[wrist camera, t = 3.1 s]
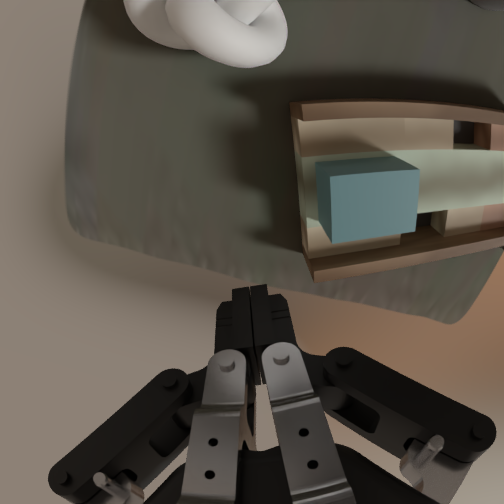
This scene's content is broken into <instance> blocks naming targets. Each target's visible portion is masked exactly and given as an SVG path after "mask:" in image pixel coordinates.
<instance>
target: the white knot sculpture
mask: <svg viewBox="0 0 504 504" xmlns="http://www.w3.org/2000/svg"><path fill="white" fill-rule="evenodd" d="M123 1H124V5H125V9H126V12H127V14H128V16H129V18H130V20H131V22H132V23H133V24H134V25H135V27H136V28H137V29H138V30H139V31H140V32H141V33H143V34H144V35H145V36H146V37H148V38H149V39H151V40H153V41H155V42H156V43H159V44H162V45H164V46H167V47H171V48H175V49H183V50H195V51H197V52H198V53H200V54H202V55H203V56H205V57H208V58H210V59H212V60H214V61H217V62H220V63H223V64H226V65H229V66H234V67H239V68H253V67H257V66H261V65H265V64H268V63H270V62H272V61H273V60H275V59H276V58H277V57H278V56H279V55H280V54H281V53H282V51H283V50H284V48H285V44H286V40H287V23H286V19H285V16H284V14H283V11H282V9H281V7H280V5H279V3H278V1H277V0H215V1H214V0H123Z"/></svg>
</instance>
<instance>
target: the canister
mask: <svg viewBox="0 0 504 504" xmlns="http://www.w3.org/2000/svg"><path fill="white" fill-rule="evenodd" d="M470 1H471V2H472V3H474V4H475V5H477V6H479V7H481V8H483V9H486V10H492V11H501V10H504V0H470Z"/></svg>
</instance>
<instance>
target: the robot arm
mask: <svg viewBox="0 0 504 504" xmlns="http://www.w3.org/2000/svg"><path fill="white" fill-rule="evenodd" d="M250 292H251V295H250ZM260 373H261V378H262V383H263V384H267V389H268V395H269V400H270V405H271V409H272V414H273V419H274V424H275V428H276V433H277V438H278V443H279V446H276V447H274V448H271V449H268V450H265V451H257V449H256V388H255V385H261V378H260ZM324 411H325V412H326V413H327V414H328V415H330V416H331V417H333V418H335V419H336V420H338V421H339V422H340V423H342V424H343V425H345V426H347V427H348V428H350V429H351V430H353V431H354V432H356V433H358V434H359V435H361V436H362V437H364V438H366V439H367V440H369V441H371V442H372V443H374V444H376V445H377V446H379V447H381V448H382V449H384V450H386V451H387V452H389V453H391V454H392V455H394V456H396V457H398V458H400V459H401V461H400V466H399V467H400V471H401V473H402V475H403V476H404V477H405V478H406V479H407V480H409V482H410V483H411V484H412V486H413V487H411V486H409V485H408V484H406V483H404V482H403V481H401V480H400V479H398V478H396V477H395V476H393V475H392V474H390V473H388V472H387V471H385V470H384V469H382V468H381V467H379V466H378V465H376V464H374V463H373V462H372V461H370V460H369V459H367V458H366V457H364V456H362V455H361V454H360V453H358V452H357V451H355V450H353V449H351V448H349V447H347V446H344V445H340V444H336V443H334V441H333V437H332V434H331V432H330V429H329V425H328V422H327V419H326V417H325V413H324ZM495 438H496V427H495V424H494V422H493V421H492V420H491V419H490V418H489V417H488V416H486V415H484V414H481V413H479V412H477V411H475V410H473V409H471V408H468V407H467V406H465V405H463V404H460V403H458V402H456V401H454V400H452V399H450V398H448V397H446V396H444V395H442V394H440V393H438V392H436V391H434V390H432V389H429V388H428V387H426V386H424V385H422V384H420V383H418V382H416V381H414V380H412V379H410V378H408V377H406V376H404V375H402V374H400V373H398V372H397V371H395V370H393V369H391V368H389V367H387V366H385V365H383V364H381V363H379V362H377V361H376V360H373V359H372V358H370V357H368V356H366V355H364V354H362V353H360V352H359V351H357V350H355V349H353V348H349V347H338V348H335V349H333V350H331V351H330V352H329V353H327V354H326V356H319V355H311V354H308V353H306V352H304V351H302V350H301V349H300V348H299V347H298V345H297V343H296V338H295V334H294V330H293V325H292V321H291V317H290V312H289V307H288V303H287V300H286V299H285V298H284V297H283V296H282V295H281V294H275V295H268V291H267V284H263V285H257V286H251V287H250V290H249V287H243V288H237V289H232V301H227V302H222V303H221V304H220V306H219V307H218V309H217V314H216V330H215V350H214V355H213V356H212V357H211V358H210V360H209V362H208V365H207V366H206V367H205V368H203V369H201V370H199V371H196V372H193V373H191V374H188V375H187V374H186V373H185V372H184V371H182V370H180V369H167V370H164V371H162V372H161V373H160V374H158V375H157V376H156V377H155V378H153V379H152V380H151V381H150V382H149V383H148V384H147V385H146V386H145V387H143V388H142V389H141V390H140V391H139V392H138V393H137V394H136V395H135V396H133V397H132V398H131V399H130V400H129V401H128V402H127V403H126V404H124V405H123V406H122V407H121V408H120V409H119V410H118V411H117V412H115V413H114V414H113V415H112V416H111V417H110V418H109V419H107V421H105V422H104V423H103V424H102V425H101V426H99V427H98V428H97V429H96V430H95V431H94V432H93V433H91V434H90V435H89V436H88V437H87V438H86V439H84V440H83V441H82V442H81V443H80V444H79V445H78V446H76V447H75V448H74V449H73V450H72V451H71V452H69V453H68V454H67V455H66V456H65V457H63V458H62V459H61V460H60V461H59V462H57V463H56V464H55V465H54V466H53V467H52V468H51V470H50V472H49V476H48V482H49V485H50V488H51V489H52V490H53V491H54V492H55V493H56V494H58V495H60V496H61V497H63V498H65V499H67V500H68V501H69V502H71V503H72V504H449V503H450V501H451V500H452V498H453V497H454V495H455V493H456V491H457V490H458V488H459V487H460V485H461V483H462V482H463V480H464V478H465V476H466V474H467V473H468V471H469V469H470V467H471V465H472V463H473V462H474V461H475V460H476V459H478V458H479V457H480V456H481V455H482V454H483V453H484V452H485V451H486V450H487V449H488V448H489V447H490V446H491V445H492V444H493V442H494V440H495ZM188 445H189V446H188ZM187 446H188V452H187V458H186V463H184V464H182V465H181V466H179V467H178V468H177V469H176V470H175V471H174V472H173V473H172V474H171V475H170V476H169V477H168V478H167V479H166V480H165V481H164V482H163V483H162V484H161V485H160V487H158V488H157V490H156V491H155V492H154V493H153V494H152V495H151V496H150V497H149V498H148V499H147V500H146V501H145V502H144V492H143V489H144V488H145V487H147V486H148V485H149V484H150V483H151V482H152V481H153V480H154V479H155V478H156V477H157V476H158V475H159V474H160V473H161V472H162V471H163V470H164V469H165V468H166V467H167V466H168V465H169V464H170V463H171V462H172V461H173V460H174V459H175V458H176V457H177V456H178V455H179V454H180V453H181V452H182V451H183V450H184V449H185V448H186V447H187Z"/></svg>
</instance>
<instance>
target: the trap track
mask: <svg viewBox="0 0 504 504" xmlns="http://www.w3.org/2000/svg"><path fill="white" fill-rule="evenodd" d="M289 107H290V115H291V124H292V132H293V142H294V151H295V161H296V171H297V182H298V194H299V206H300V219H301V233H302V248H303V255H304V258H305V260H306V263H307V266H308V268H309V271H310V273H311V276H312V279H313V281H314V283H318V282H324V281H330V280H336V279H342V278H348V277H353V276H359V275H364V274H370V273H375V272H381V271H386V270H392V269H397V268H402V267H407V266H412V265H417V264H422V263H427V262H432V261H437V260H442V259H446V258H451V257H456V256H460V255H465V254H469V253H474V252H478V251H483V250H487V249H491V248H496V247H500V246H504V111H503V110H498V109H492V108H486V107H480V106H473V105H465V104H457V103H448V102H438V101H425V100H409V99H375V98H361V99H326V100H309V101H296V102H289ZM390 156H395V157H397V158H399V159H401V160H403V161H405V162H407V163H409V164H411V165H413V166H415V167H417V168H418V169H420V180H419V196H418V208H417V219H416V228H415V232H408V233H402V234H395V235H389V236H382V237H375V238H369V239H362V240H355V241H349V242H342V243H335V244H332V243H331V241H330V240H329V238H328V236H327V235H326V233H325V231H324V229H323V228H322V226H321V224H320V223H319V221H318V201H317V184H316V170H315V162H324V161H335V160H346V159H359V158H373V157H390Z"/></svg>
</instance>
